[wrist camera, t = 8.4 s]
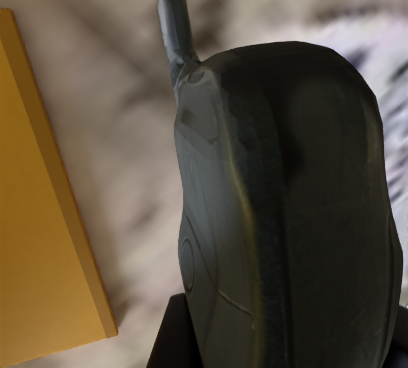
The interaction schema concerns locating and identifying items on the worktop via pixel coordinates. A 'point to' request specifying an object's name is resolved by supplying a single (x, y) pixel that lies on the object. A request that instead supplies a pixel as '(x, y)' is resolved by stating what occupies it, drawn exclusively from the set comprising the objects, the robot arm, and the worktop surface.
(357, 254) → the mobile phone
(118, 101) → the worktop surface
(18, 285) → the yellow flat slab
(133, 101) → the worktop surface
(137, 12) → the worktop surface
